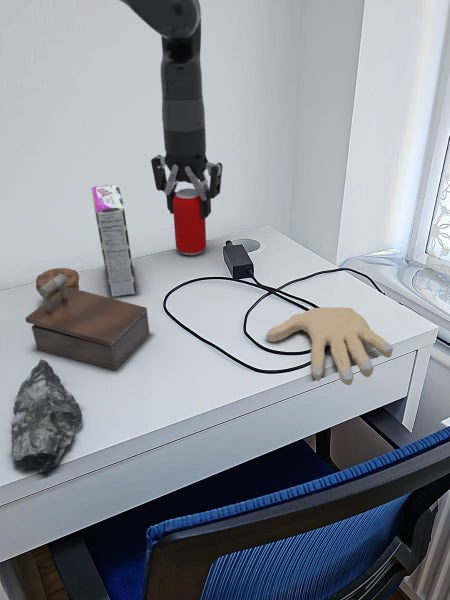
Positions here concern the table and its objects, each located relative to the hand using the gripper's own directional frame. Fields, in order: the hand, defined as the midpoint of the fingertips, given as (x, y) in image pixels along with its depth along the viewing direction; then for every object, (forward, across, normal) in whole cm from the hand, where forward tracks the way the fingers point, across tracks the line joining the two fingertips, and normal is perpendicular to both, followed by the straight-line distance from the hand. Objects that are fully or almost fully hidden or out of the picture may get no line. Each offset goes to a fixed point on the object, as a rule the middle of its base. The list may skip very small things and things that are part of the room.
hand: (189, 214), depth 114 cm
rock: (+11, -7, +54) cm, 56 cm away
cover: (+3, 0, +35) cm, 36 cm away
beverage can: (+8, 0, 0) cm, 8 cm away
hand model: (+8, -32, +14) cm, 36 cm away
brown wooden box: (+8, 0, +36) cm, 36 cm away
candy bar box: (+8, +6, +17) cm, 20 cm away
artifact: (+8, +12, +27) cm, 31 cm away
